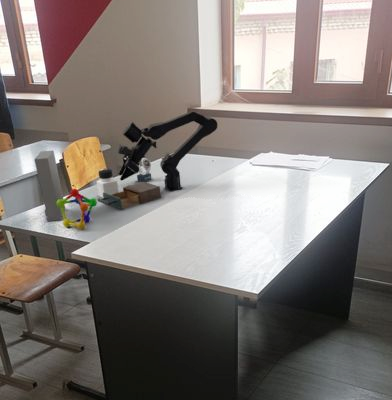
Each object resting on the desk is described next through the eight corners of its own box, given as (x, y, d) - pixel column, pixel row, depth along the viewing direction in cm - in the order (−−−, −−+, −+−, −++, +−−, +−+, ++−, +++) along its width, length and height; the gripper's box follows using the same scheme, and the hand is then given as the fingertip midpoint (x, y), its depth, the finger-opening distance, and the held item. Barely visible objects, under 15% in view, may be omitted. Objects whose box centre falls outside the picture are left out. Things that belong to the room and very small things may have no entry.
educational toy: (104, 222, 207) (101, 186, 198) (87, 234, 197) (83, 196, 188) (71, 216, 211) (67, 180, 203) (53, 227, 201) (48, 190, 193)
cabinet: (144, 192, 236) (143, 181, 233) (160, 197, 228) (159, 186, 225) (124, 198, 230) (122, 187, 227) (140, 203, 222) (139, 192, 219)
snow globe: (146, 183, 249) (144, 160, 243) (135, 181, 254) (132, 158, 248) (154, 180, 253) (152, 157, 247) (142, 178, 257) (140, 155, 251)
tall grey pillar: (51, 210, 221) (38, 151, 208) (65, 209, 221) (53, 150, 208) (46, 221, 209) (32, 159, 196) (61, 220, 209) (47, 158, 196)
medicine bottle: (119, 196, 233) (115, 169, 227) (105, 199, 230) (100, 172, 224) (112, 192, 239) (108, 166, 232) (98, 196, 235) (94, 169, 229)
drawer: (125, 197, 231) (124, 186, 228) (142, 202, 222) (141, 192, 219) (95, 205, 222) (94, 195, 220) (112, 212, 213) (110, 201, 211)
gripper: (124, 133, 231) (104, 161, 235) (128, 141, 215) (106, 171, 220) (144, 149, 236) (124, 176, 240) (148, 158, 220) (127, 187, 225)
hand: (120, 177), depth 231 cm, fingers open, 9 cm apart
